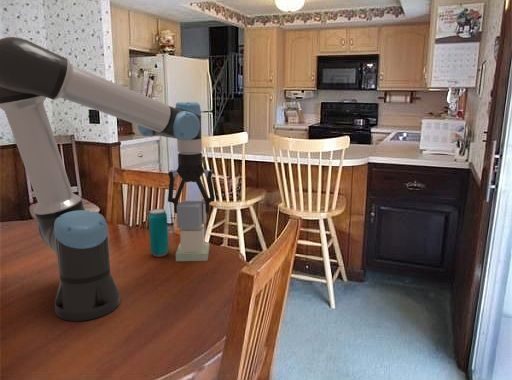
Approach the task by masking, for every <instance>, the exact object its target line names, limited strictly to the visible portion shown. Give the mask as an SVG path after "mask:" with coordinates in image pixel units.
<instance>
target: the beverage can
mask: <svg viewBox="0 0 512 380" xmlns="http://www.w3.org/2000/svg"><path fill="white" fill-rule="evenodd" d="M166 211H167V210H166V209H165V208H155V209H154V208H153V209H151V210H149V211H148V212H149V214H148V227H149V229H148V230H149V243H150V244H149V245H150V252H151V254H152V255H153V257H157V258H159V257H161V258H162V257H165V256H166V255H167V254H168V253H169V252H168V251H169V232H168V214H167V213H166Z"/></svg>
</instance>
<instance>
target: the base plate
mask: <svg viewBox="0 0 512 380" xmlns="http://www.w3.org/2000/svg"><path fill="white" fill-rule="evenodd" d="M209 253H210V242H205V245H204V250H203V252H181V242H179V244H178V247H177V250H176V251H175V262H207V261H208V259H209Z"/></svg>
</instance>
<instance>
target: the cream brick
mask: <svg viewBox="0 0 512 380" xmlns="http://www.w3.org/2000/svg"><path fill="white" fill-rule="evenodd" d="M205 238H206V237H205V223H203V224H202V226H201V227H200V228H199V229H196V228H180V243H181V252H203V250H204V245H205V243H206V241H205Z"/></svg>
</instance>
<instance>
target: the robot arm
mask: <svg viewBox="0 0 512 380" xmlns="http://www.w3.org/2000/svg"><path fill="white" fill-rule="evenodd" d="M46 98H47V99H50V100H53V101H56V100H58V99H63V100H66V101H70V102H72V103H75V104H78V105H79V106H80V105H81V106H82V107H83V106H84V107H86V108H89V109H92V110H95V111H97V112H101V113H104V114H106V115H109V116H112V117H115V118H117V119H119V120H123V121H126V122H129V123H131V124H135V125H137V129H138V132H139V133H140V135H141V136H143V137H157V136H158V137H165V138H170V139H176V142H177V143H176V145H177V148H176V149H177V152H179V153H178V154H177V164H178V167H177V169H175V170H173V169H172V170H171V169H170V170H169V171H168V177H169V182H168V183H169V185H168V194H167V195H168V196H167V202H168V203H172V204H173V213H174V214H177V205H179V204H180V203H181V202H182V201H179V199H180V198H181V194H182V192H183V189H184V187H185V183H190V182H191V183H195V184H196V185H197V187H198V189H199V191H200V195H201V196H202V198H203V200H204V202H203V221H204V223H203V224H207V214H209V213H210V211H211V210H210V209H211V207H210V203H212V202H215V199H216V196H215V191H214V184H213V179H212V176H213V170H212V169H205V168H204V165H203V153H202V151H203V146H202V145H203V140H202V138H203V137H202V111H201V105H200V103H199V102H196V101H192V102H191V101H182V102H181V101H177V102H176V103H175V107H173V106H171V105H168V104H165V103H163V102H161V101H159V100H156V99H154V98H152V97H149V96H146V95H143V94H142V93H139V92H137V91H134V90H132V89H130V88H127V87H125V86H123V85H120V84H117V83H115V82H113V81H110V80H108V79H105V78H103V77H102V76H101V77H100V76H99V75H96V74H93V73H91V72H88V71H86V70H83V69H81V68H78V67H76V66H74V65H72V63H71V62H70V60H69V58H67V57H64V56H62V55H60V54H57V53H55V52H53V51H50V50H48V49H47V48H45V47H42V46H41V45H38V44H36V43H35V42H32V41H30V40H28V39H25V38H22V37H18V36H16V37H15V36H7V37H4V38H3V37H2V38H0V109H1V110H2V111H3V112H4V113H5V117H6V119H7V122H8V124H9V127H10V130H11V133H12V135H13V138H14V141H15V143H16V147H17V148H18V152H19V154H20V157H21V160H22V163H23V165H24V168H25V171H26V173H27V176H28V179H29V182H30V184H31V187H32V190H33V192H34V196H35V198H36V201H37V205H36V206H35V207H34V209H33V213H34V215H35V218H36V220H37V223H38V227H37V228H38V234H39V236H40V237H41V239H42V241H43V242H44V243H45V244H46V245H47V246H49V248H50V249H51V250H52V251H53V252H54V253H55V254H56V256H57V265H58V273H59V274H58V275H59V285H58V289H57V292H56V296H55V300H54V313H55V315H56V317H58V318H59V319H62V320H65V321H69V322H70V321H71V322H82V321H89V320H94V319H97V318H101V317H104V316H107V315H108V314H110V313H111V312H113V311H114V310H116V309H117V308H118V307H119V305H120V302H121V299H120V297H121V296H120V292H119V288H118V287H117V284H116V283H115V280H114V278H113V276H112V274H111V265H110V264H111V263H110V249H109V236H108V233H109V230H108V225H107V221H106V220H107V219H106V218H105V217H104V216H103V214H101V213H99V212H98V211H97V212H96V211H90V210H86V209H85V207H84V204H83V200H82V198H81V196H80V195H78V194H75V193H74V192H73V189H72V186H71V183H70V180H69V177H68V174H67V171H66V169H65V165H64V161H63V160H62V159H63V158H62V156H61V153H60V151H59V146H58V145H57V140H56V137H55V135H54V132H53V128H52V125H51V123H50V120H49V119H50V118H49V117H48V114H47V111H46V107H45V105H44V103H45V101H46ZM203 174H204V175H205V178H207V185H208V186H207V187H208V191H209V196H208V193H207V190H206V189H205V186H204V184H203V182H202V179H201V177H202V176H203ZM177 175H178V176H179V177H180V179H181V180H180V183H179V186H178V189H177V191H176V194H175V197H174V189H175V181H176V180H175V178H176V177H177Z"/></svg>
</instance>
